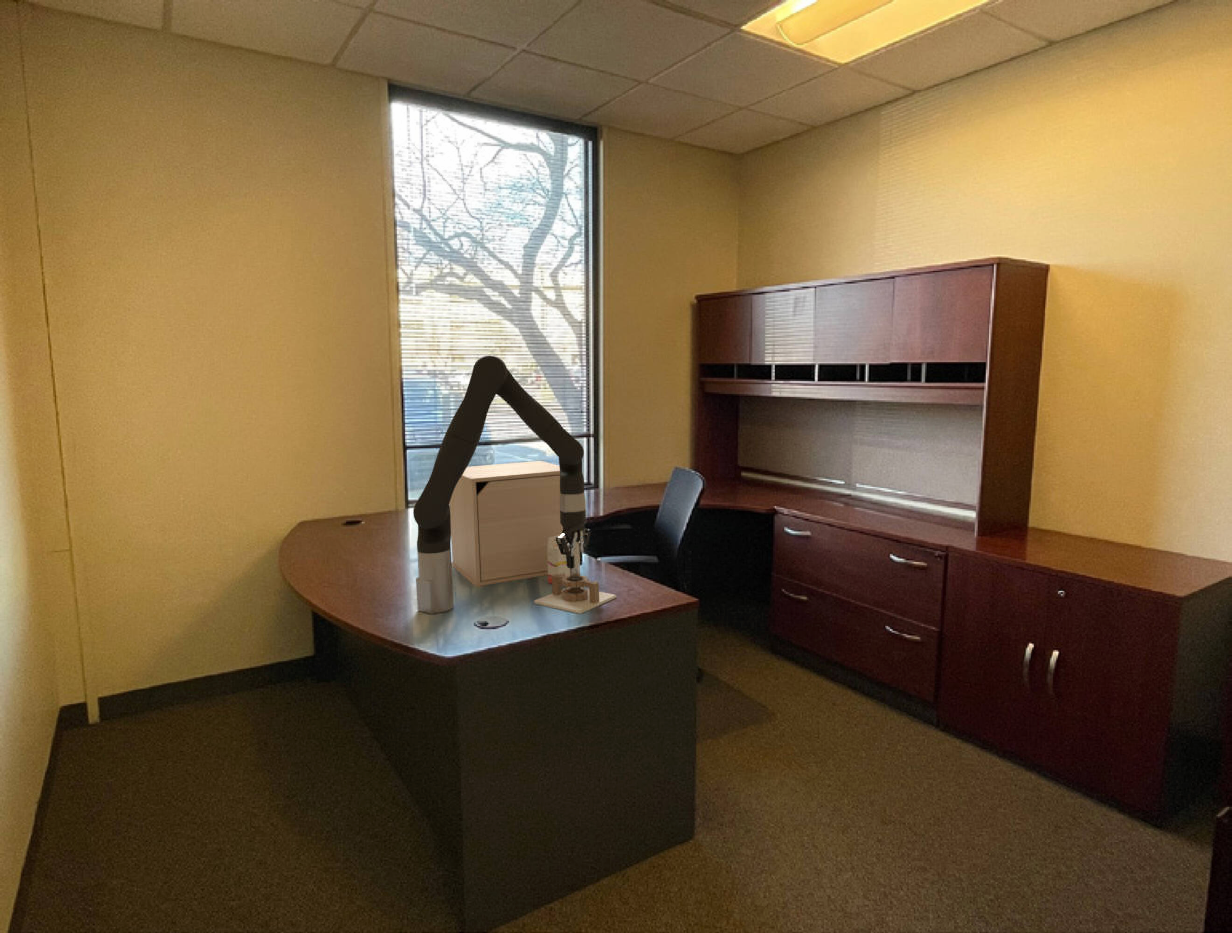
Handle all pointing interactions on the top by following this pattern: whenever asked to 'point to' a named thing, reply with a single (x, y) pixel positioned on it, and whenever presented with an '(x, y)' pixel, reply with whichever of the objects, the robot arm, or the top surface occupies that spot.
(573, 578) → the tube
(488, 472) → the cabinet
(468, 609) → the top surface
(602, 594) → the dock
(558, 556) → the ink cartridge box
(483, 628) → the top surface
